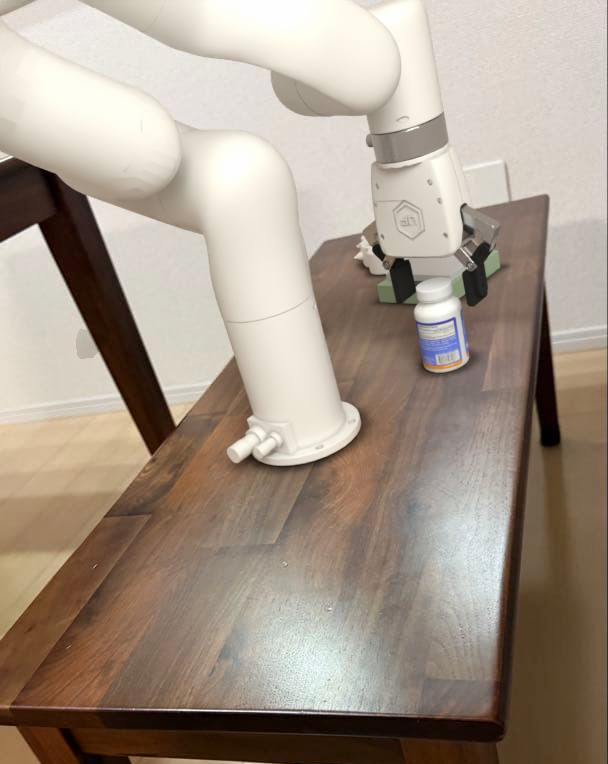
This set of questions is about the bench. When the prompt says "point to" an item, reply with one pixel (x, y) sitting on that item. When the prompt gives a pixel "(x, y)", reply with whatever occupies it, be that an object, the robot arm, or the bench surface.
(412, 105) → the robot arm
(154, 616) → the bench surface
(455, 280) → the scale
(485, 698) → the bench surface
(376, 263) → the white compartment tray
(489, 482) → the bench surface
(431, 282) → the pill bottle
